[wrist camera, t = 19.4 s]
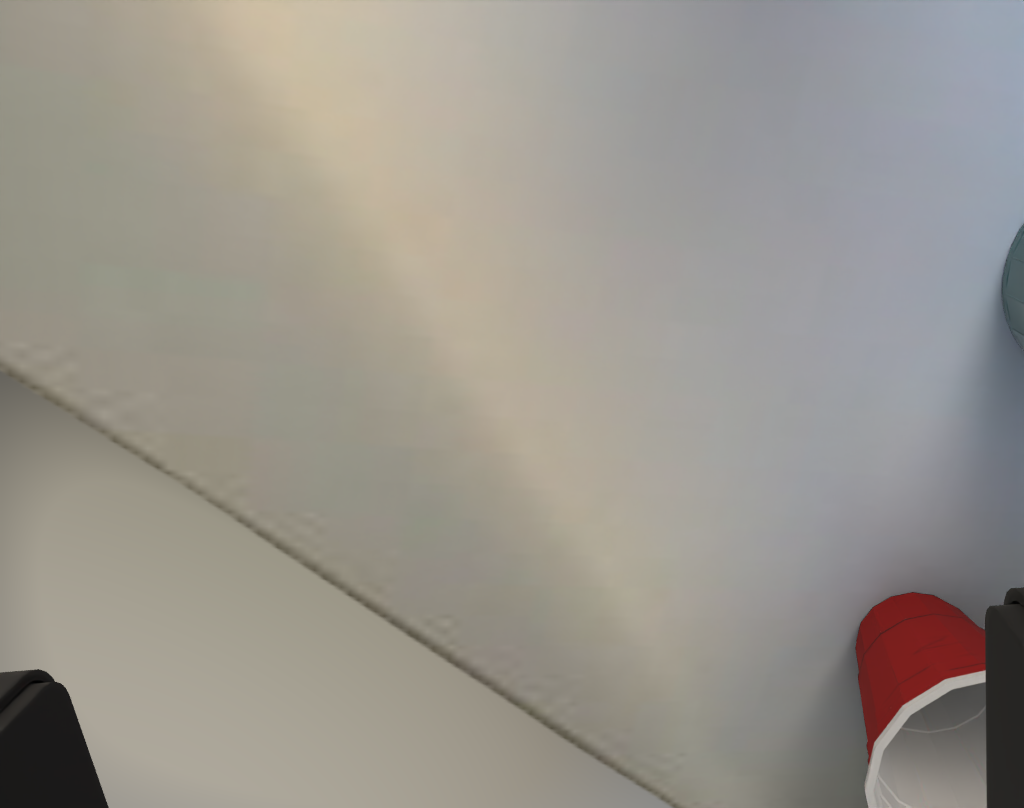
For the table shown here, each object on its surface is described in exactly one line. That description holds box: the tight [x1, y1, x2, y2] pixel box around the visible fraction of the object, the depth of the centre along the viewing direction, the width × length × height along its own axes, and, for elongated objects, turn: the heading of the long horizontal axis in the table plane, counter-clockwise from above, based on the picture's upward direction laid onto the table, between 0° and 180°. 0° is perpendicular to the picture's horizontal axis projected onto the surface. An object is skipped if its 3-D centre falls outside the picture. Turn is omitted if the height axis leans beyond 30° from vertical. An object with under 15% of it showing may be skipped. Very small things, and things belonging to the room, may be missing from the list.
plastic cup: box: [855, 592, 987, 808], centre depth 45 cm, size 11×11×12 cm
